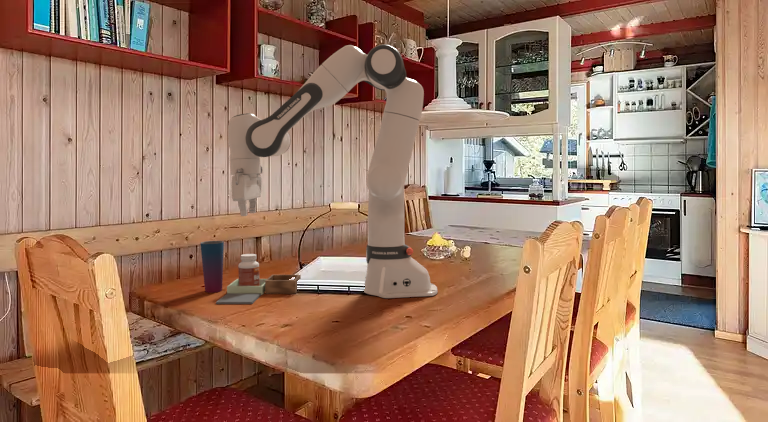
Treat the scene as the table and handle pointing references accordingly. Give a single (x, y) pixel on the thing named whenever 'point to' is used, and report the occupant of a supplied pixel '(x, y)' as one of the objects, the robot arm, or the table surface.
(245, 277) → the pill bottle
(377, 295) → the robot arm
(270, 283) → the crate
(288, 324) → the table surface
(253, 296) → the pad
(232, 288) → the rim tray
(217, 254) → the cup
